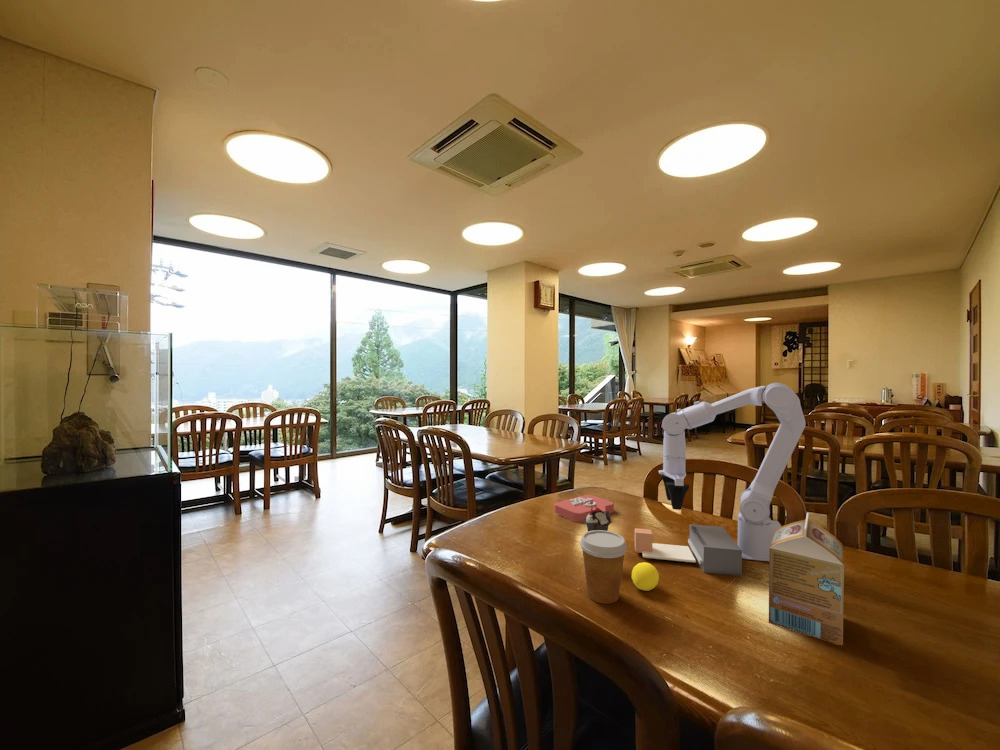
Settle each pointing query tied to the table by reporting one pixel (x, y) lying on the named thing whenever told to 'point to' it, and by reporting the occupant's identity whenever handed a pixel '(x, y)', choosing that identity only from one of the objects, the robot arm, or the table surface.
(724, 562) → the dispenser
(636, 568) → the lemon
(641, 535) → the peach block on base
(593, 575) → the disposable coffee cup
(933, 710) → the table surface
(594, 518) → the sundae
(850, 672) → the table surface
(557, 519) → the table surface
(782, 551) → the milk carton
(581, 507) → the plaque
